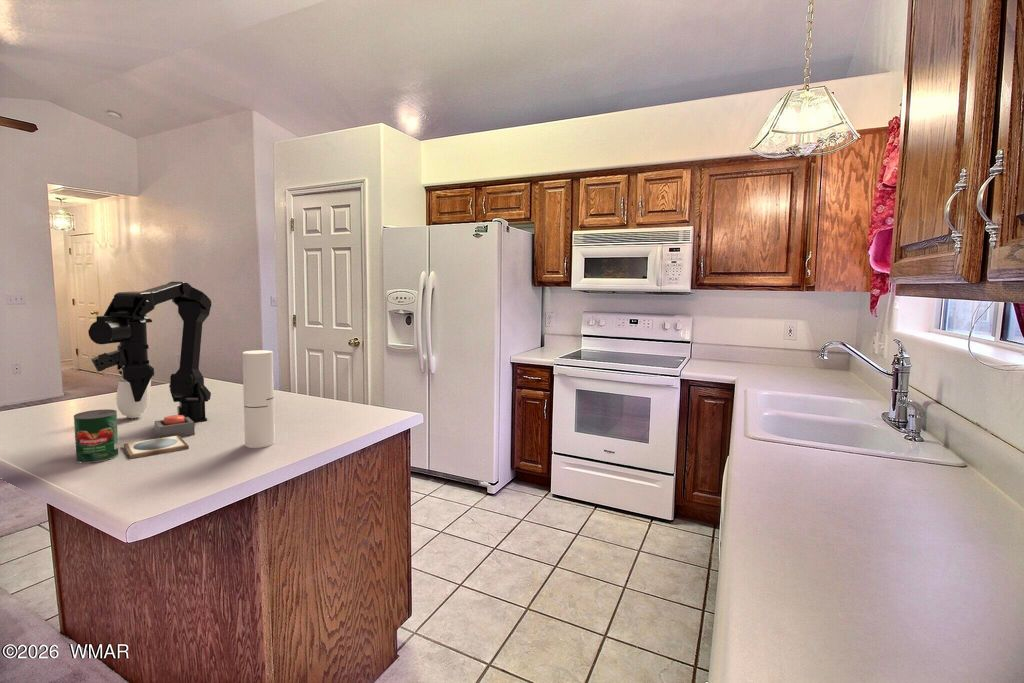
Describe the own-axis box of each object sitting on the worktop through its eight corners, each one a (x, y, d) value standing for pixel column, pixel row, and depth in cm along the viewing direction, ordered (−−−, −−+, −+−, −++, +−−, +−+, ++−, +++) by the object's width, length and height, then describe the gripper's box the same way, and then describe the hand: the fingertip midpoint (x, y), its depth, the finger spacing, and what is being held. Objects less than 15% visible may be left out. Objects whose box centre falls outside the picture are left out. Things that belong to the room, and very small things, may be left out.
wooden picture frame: (178, 437, 134) (178, 434, 134) (188, 448, 126) (188, 444, 126) (123, 446, 126) (123, 442, 126) (130, 458, 117) (130, 454, 117)
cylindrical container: (280, 441, 134) (279, 351, 131) (259, 449, 127) (257, 354, 124) (260, 438, 136) (258, 349, 133) (238, 445, 129) (236, 352, 127)
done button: (182, 421, 141) (182, 414, 141) (186, 424, 138) (186, 417, 137) (162, 423, 138) (162, 416, 137) (165, 427, 134) (165, 420, 134)
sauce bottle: (136, 421, 149) (133, 363, 147) (111, 420, 149) (108, 362, 147) (155, 415, 157) (152, 359, 155) (131, 414, 157) (128, 359, 155)
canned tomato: (83, 466, 112) (80, 419, 111) (70, 459, 116) (67, 413, 115) (124, 456, 119) (122, 412, 118) (111, 450, 123) (109, 407, 122)
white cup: (137, 408, 125) (136, 381, 124) (112, 407, 125) (111, 380, 125) (158, 402, 132) (157, 377, 131) (134, 401, 132) (133, 376, 132)
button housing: (188, 428, 144) (187, 416, 143) (194, 434, 138) (194, 422, 138) (154, 433, 138) (154, 421, 138) (160, 439, 132) (159, 427, 132)
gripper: (90, 338, 128) (93, 397, 130) (95, 345, 115) (98, 410, 116) (143, 337, 136) (145, 392, 137) (153, 343, 122) (155, 404, 124)
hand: (136, 399), depth 128 cm, fingers closed on white cup, 6 cm apart
